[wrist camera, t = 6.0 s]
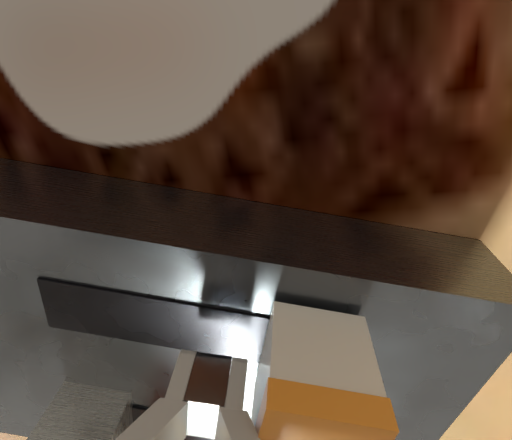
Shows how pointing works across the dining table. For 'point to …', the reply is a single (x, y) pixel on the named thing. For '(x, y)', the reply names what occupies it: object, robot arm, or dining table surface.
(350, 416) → the block
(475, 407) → the dining table surface
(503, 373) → the dining table surface
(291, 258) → the box
